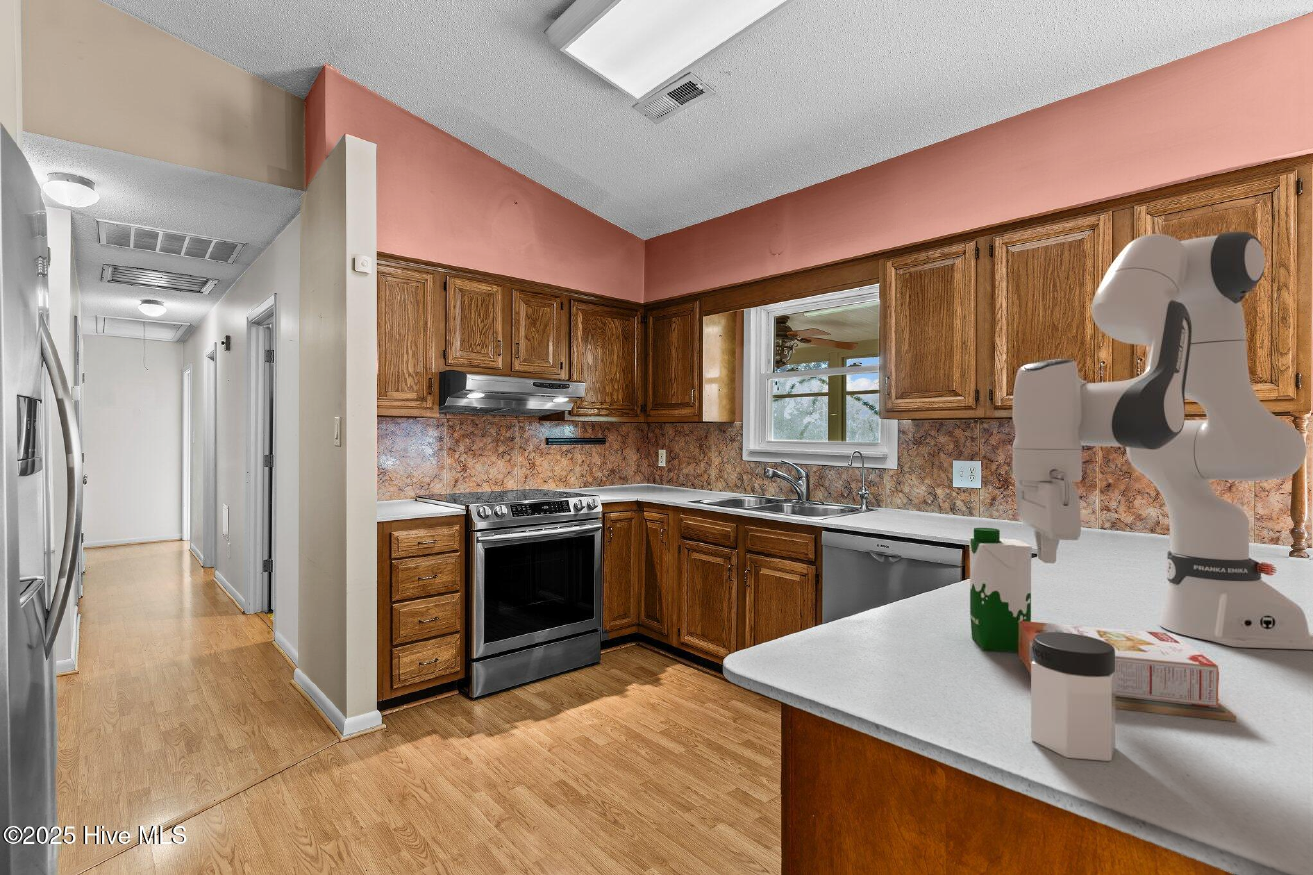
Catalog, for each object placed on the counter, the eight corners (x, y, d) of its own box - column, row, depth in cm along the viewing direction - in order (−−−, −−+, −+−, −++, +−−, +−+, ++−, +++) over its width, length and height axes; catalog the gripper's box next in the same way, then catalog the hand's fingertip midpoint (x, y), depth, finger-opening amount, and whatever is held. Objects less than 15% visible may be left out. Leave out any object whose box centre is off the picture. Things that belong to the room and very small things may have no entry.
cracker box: (1017, 617, 103) (1175, 632, 97) (1017, 655, 104) (1174, 672, 97) (1037, 645, 90) (1222, 664, 83) (1036, 688, 90) (1221, 711, 83)
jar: (1039, 721, 82) (1039, 626, 82) (1118, 740, 77) (1118, 639, 77) (1025, 747, 75) (1025, 644, 75) (1110, 770, 70) (1110, 659, 70)
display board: (1171, 671, 99) (1171, 666, 99) (1236, 721, 82) (1236, 714, 82) (1024, 658, 105) (1024, 652, 105) (1055, 701, 88) (1055, 695, 88)
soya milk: (964, 636, 117) (965, 525, 117) (1019, 639, 115) (1019, 526, 115) (978, 652, 108) (978, 532, 108) (1038, 655, 106) (1038, 534, 106)
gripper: (1094, 472, 85) (1094, 577, 85) (1051, 465, 105) (1052, 550, 105) (1040, 472, 87) (1040, 574, 87) (1008, 465, 107) (1008, 548, 107)
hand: (1046, 561), depth 96 cm, fingers closed
